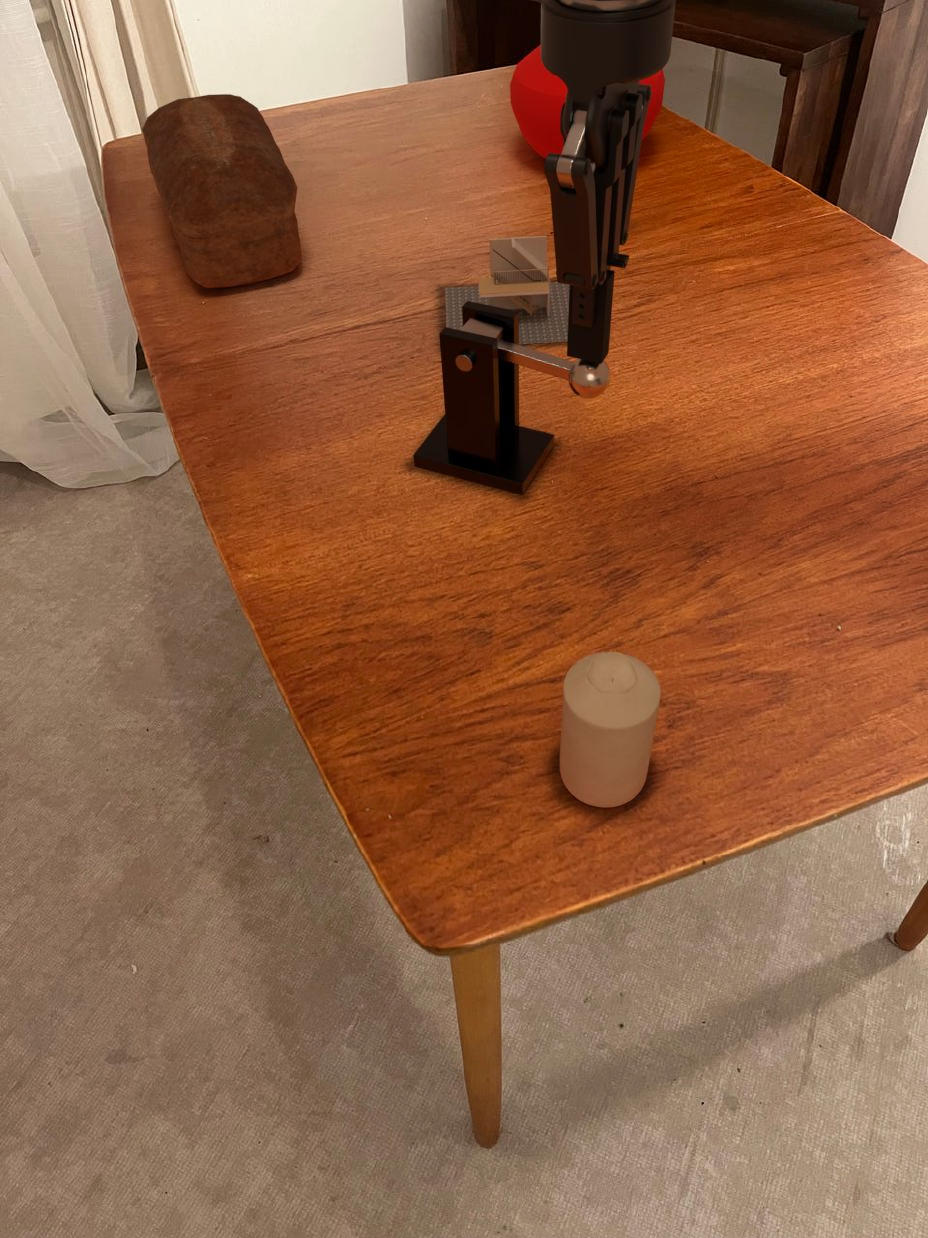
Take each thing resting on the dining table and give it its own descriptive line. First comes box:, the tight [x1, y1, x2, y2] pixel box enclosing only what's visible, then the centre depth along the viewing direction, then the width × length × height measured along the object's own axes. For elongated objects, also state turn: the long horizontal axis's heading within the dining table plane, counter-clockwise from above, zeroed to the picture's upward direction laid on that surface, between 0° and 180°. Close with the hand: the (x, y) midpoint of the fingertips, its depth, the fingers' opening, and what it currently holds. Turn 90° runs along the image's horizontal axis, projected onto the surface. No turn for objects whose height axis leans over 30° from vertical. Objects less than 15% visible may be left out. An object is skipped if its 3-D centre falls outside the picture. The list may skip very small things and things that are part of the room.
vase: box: [509, 44, 666, 160], centre depth 116 cm, size 18×18×19 cm
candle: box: [559, 651, 662, 808], centre depth 58 cm, size 6×6×10 cm
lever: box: [461, 318, 612, 400], centre depth 74 cm, size 12×3×3 cm, turn 65°
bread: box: [141, 93, 303, 289], centre depth 108 cm, size 14×28×12 cm, turn 19°
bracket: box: [412, 301, 555, 495], centre depth 79 cm, size 10×7×13 cm
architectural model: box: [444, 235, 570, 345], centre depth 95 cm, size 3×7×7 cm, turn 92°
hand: (587, 354), depth 72 cm, fingers closed
